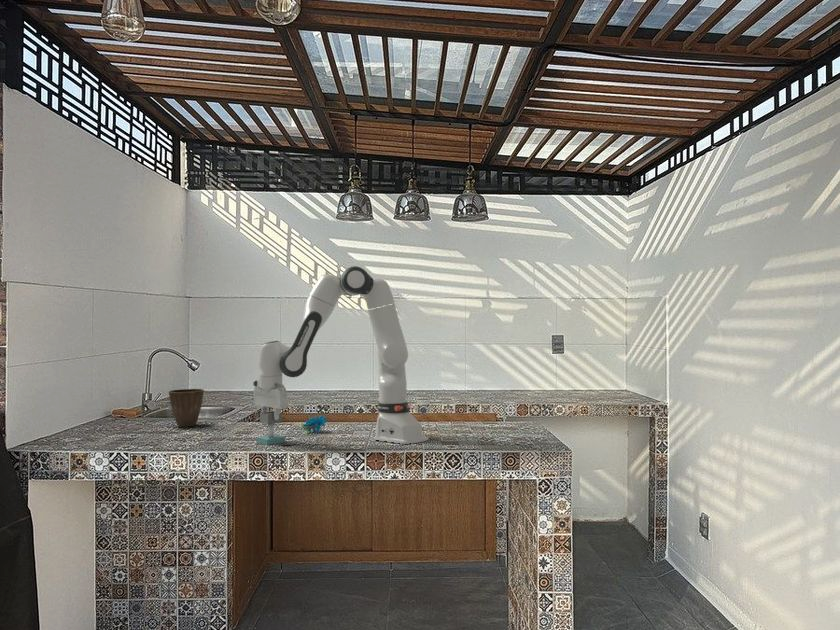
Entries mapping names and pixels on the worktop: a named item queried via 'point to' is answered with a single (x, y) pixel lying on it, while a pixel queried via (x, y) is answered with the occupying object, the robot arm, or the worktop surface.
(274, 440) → the shaft block
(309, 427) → the blue toy dinosaur
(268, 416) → the collar
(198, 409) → the plant pot
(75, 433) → the worktop surface
